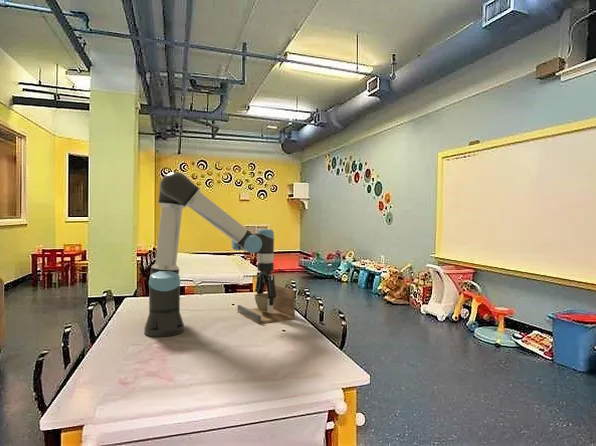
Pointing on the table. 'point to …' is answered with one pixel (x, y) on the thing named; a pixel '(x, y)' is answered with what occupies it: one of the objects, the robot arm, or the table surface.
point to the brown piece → (274, 308)
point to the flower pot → (262, 301)
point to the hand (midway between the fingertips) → (265, 309)
